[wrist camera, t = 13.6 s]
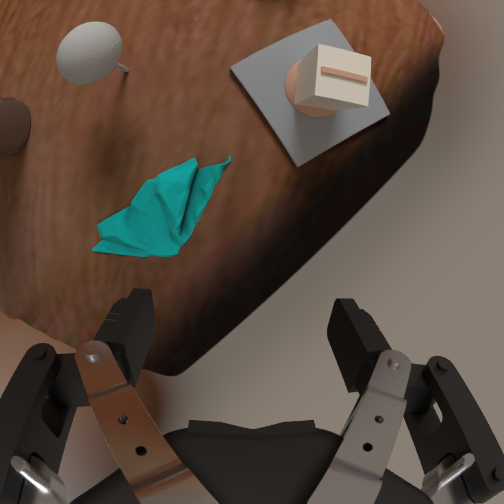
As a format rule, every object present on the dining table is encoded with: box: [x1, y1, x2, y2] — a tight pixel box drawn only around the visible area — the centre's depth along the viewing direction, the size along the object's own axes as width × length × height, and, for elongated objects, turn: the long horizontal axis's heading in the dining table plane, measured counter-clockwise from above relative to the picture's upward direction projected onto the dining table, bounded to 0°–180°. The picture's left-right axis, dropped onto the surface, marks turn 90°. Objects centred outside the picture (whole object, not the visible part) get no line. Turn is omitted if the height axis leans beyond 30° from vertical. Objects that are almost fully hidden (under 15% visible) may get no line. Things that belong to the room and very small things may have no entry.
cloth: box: [92, 156, 231, 257], centre depth 38 cm, size 26×14×2 cm, turn 108°
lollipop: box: [56, 22, 129, 85], centre depth 23 cm, size 7×7×15 cm
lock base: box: [230, 19, 390, 167], centre depth 30 cm, size 16×16×6 cm
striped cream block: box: [294, 44, 371, 111], centre depth 27 cm, size 6×6×10 cm
